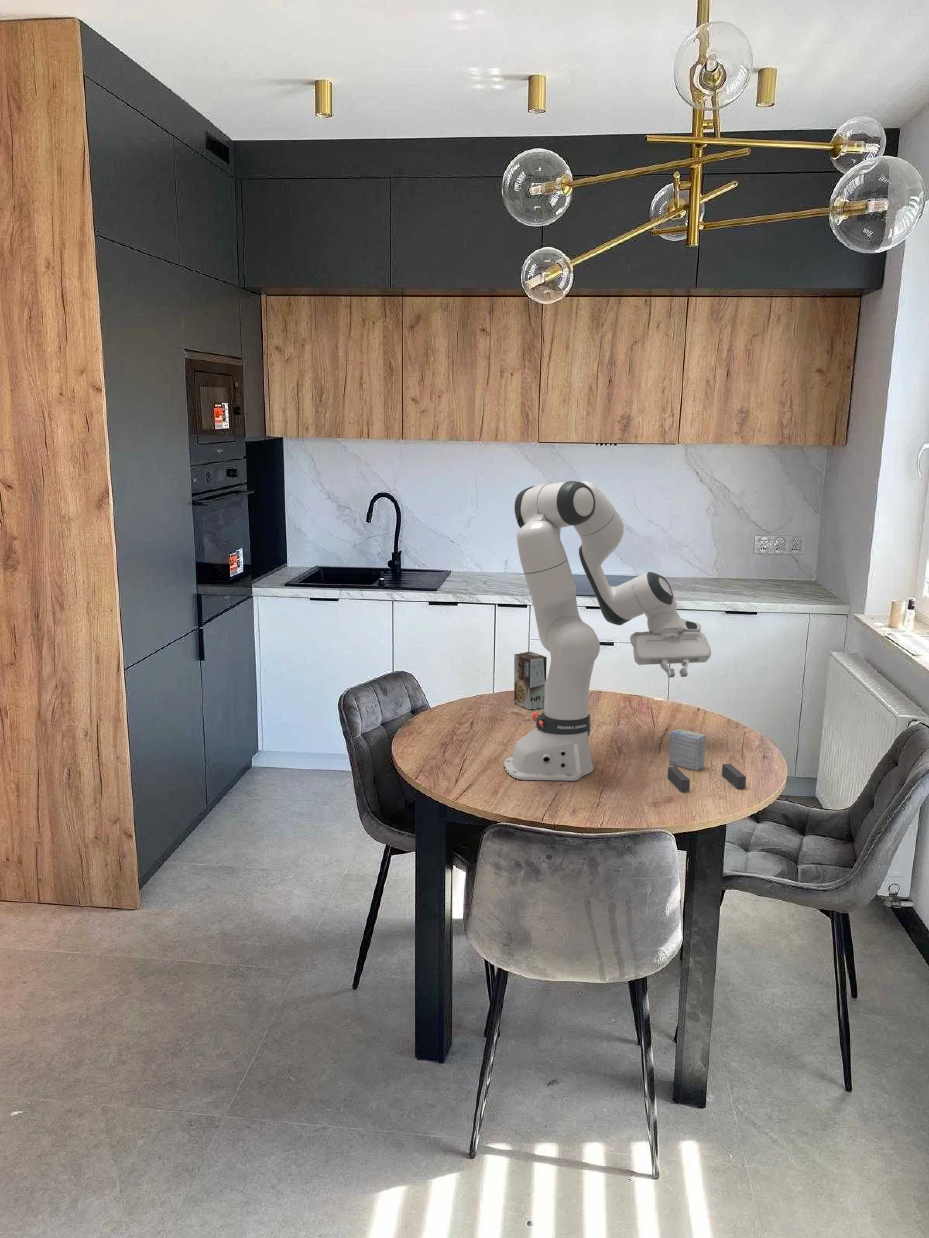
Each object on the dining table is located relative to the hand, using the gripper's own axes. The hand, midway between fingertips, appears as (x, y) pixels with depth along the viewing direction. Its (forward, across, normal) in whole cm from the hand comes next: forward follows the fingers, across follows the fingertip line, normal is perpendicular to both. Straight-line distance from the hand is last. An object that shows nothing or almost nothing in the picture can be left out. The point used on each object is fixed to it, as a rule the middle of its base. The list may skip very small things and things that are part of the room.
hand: (678, 676), depth 243 cm
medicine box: (+21, 0, +9) cm, 23 cm away
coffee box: (-20, -28, +50) cm, 61 cm away
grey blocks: (+30, 0, 0) cm, 30 cm away
